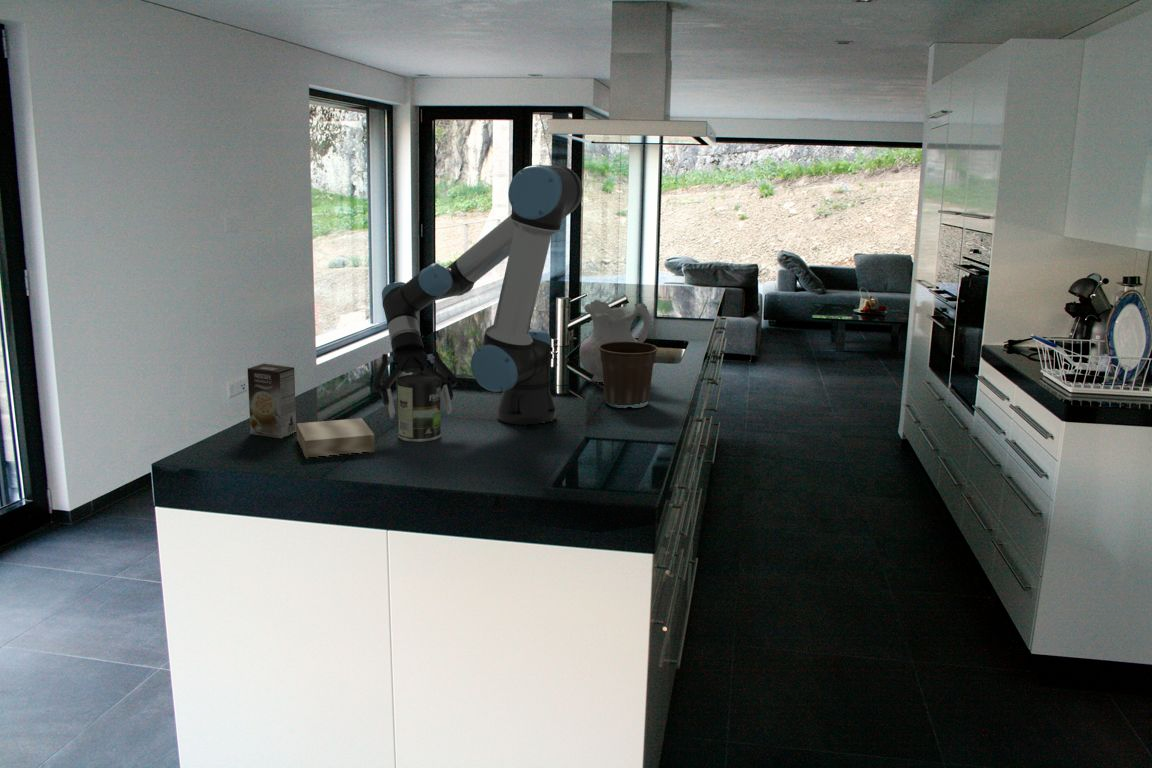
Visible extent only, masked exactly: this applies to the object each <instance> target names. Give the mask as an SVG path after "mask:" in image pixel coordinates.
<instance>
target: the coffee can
mask: <svg viewBox="0 0 1152 768" xmlns="http://www.w3.org/2000/svg"><path fill="white" fill-rule="evenodd" d="M395 382H396V389H397V390H396V391H397V394H396V395H397V431H398V432H397V438H398V439H400V440H402V441H406V442H412V443H422V442H431V441H435V440H438V439H439V438H441V436H442V429H441V427H442V426H441V421H442V419H441V417H442V416H441V415H442V413H441V386H440V382H441V378H440V377H438V376H434V375H427V374H423V373H419V374H418V373H413V374H405V375H402V376H401V375H400V376H398V377H397V379H396V380H395Z"/></svg>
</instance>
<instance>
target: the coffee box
mask: <svg viewBox="0 0 1152 768" xmlns="http://www.w3.org/2000/svg"><path fill="white" fill-rule="evenodd" d="M295 379H296V377H295V367H294V366H293V367H292V366H285V365H279V364H271V363H261V364H258V365H254V366H252V367H248V368H247V387H248V402H249V403H248V409H249V426H250V427H249V429H250V431H249V433H250V435H254V436H263V437H268V438H277V439H284V438H286V437H288V436H290V434H291V435H293V434H295V433H294V432H296V433H297V410H296V408H297V407H296V383H295ZM292 433H293V434H292ZM285 436H286V437H285ZM283 437H284V438H283Z"/></svg>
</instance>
